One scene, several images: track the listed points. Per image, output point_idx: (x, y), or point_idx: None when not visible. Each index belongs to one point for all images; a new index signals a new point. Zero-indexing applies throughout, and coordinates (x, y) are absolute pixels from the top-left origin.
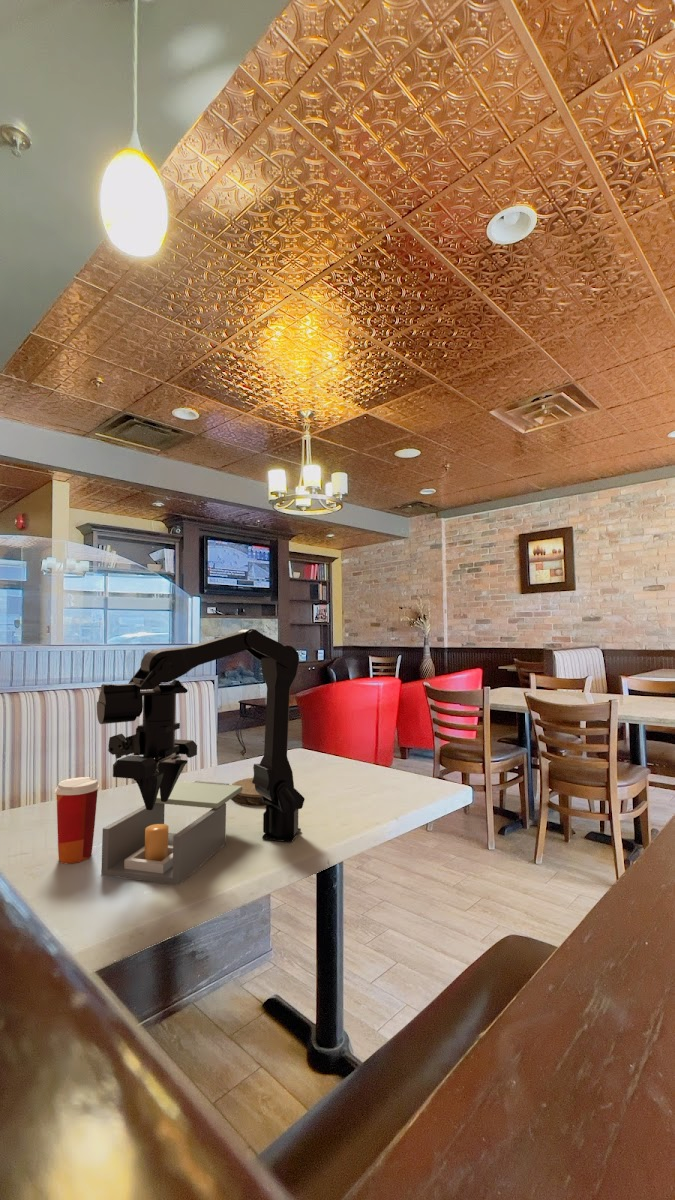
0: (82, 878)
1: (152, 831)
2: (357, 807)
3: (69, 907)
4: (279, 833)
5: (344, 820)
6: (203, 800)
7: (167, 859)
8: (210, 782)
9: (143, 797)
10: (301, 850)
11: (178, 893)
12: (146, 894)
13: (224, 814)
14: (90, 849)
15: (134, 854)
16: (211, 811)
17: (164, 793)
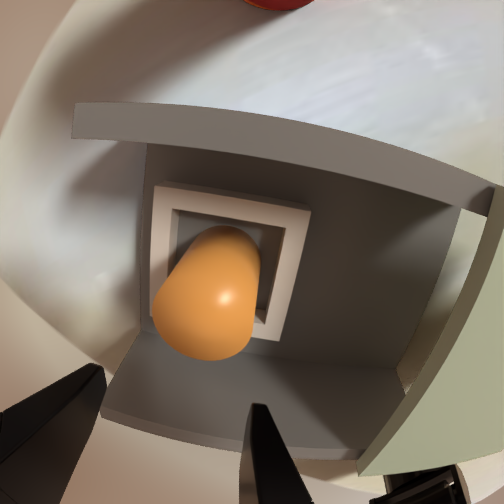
0: (136, 71)
1: (159, 316)
2: (475, 467)
3: (24, 146)
4: None
5: None
6: (403, 442)
7: None
8: None
9: (32, 401)
10: (329, 469)
11: (118, 341)
12: (94, 281)
13: None
14: (279, 2)
15: (200, 199)
16: (339, 454)
17: (245, 456)
